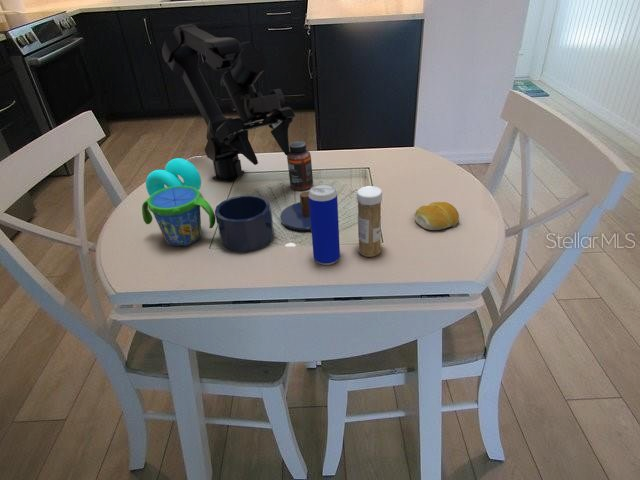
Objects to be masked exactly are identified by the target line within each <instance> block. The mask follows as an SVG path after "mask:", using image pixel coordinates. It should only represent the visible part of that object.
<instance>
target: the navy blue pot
mask: <svg viewBox="0 0 640 480" xmlns="http://www.w3.org/2000/svg"><path fill="white" fill-rule="evenodd" d="M272 213H273V212H272V207H271V202H270V201H269V199H268V198H266V197H263V196H261V195H257V194H241V195H237V196H232V197H229V198H227V199H225V200H223V201H221V202H220V203H219V204H218V205H216V207H215V209H214V214H215V218H216V219H215V222H216V226H217V228H218V229H217V231H218V234H219V240H220V242H221V245H222V247H223V248H224V249H226V250H227V251H230V252H232V253H242V254H243V253H252V252H256V251H259V250H261V249H264V248H266V247H267V246H268V245H269V244H271V243H272V241H274V237H275V229H274V222H273V214H272Z"/></svg>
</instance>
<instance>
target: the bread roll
mask: <svg viewBox="0 0 640 480" xmlns="http://www.w3.org/2000/svg"><path fill="white" fill-rule="evenodd" d="M459 218H460V213H459V212H458V209H457V208H456V207H455V206H454V205H453V204H451V203H450V202H447V201H435V202H431V203H429V204H427V205H426V204H425V205H421V206H419V207H418V208H417V209H416V211H415V212H414V220H415V222H416V224H418V225H419V226H420V227H422V228H423V229H425V230H429V231H440V230H444V229H447V228H450V227H454V226H456V225H457V224H458V223H459V220H460V219H459Z"/></svg>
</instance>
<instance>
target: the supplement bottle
mask: <svg viewBox="0 0 640 480" xmlns="http://www.w3.org/2000/svg"><path fill="white" fill-rule="evenodd" d="M289 152H290V153H289V154H288V155H286V160H287V168H288V177H289V185H290V188H291V189H293V190H295V191H304V190H310V189H311V188H312V187H313V186H314V177H313V164H312V154H311V152H310V150H308V149H307V144H306V142H305V141H302V140H298V141H292V142H291V143H289Z"/></svg>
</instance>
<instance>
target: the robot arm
mask: <svg viewBox="0 0 640 480" xmlns="http://www.w3.org/2000/svg"><path fill="white" fill-rule="evenodd" d="M200 54H201V55H202V56H204V57H205V61H206V64H207V65H208V66H209V67H211V68H212V69H213V70H215V71H220V70H224V69H226V71H225V72H222V73H221V79H220V86H221V87H224V86H225V89H226V91H227V93H228V95H229V97H230V100H231V102H232V104H231V106H230V108H231V110H232V111H236V113H237V115H238V117H235V118H232V117H228V118H227V117H225V116H224V115H223V113H222V110H221V109H220V107H219V104H218V103H217V101H216V100H215V97H214V95H213V94H212V91H211V89H210V87H209V86H208V84H207V82H206V80H205V78H204V76H203V74H202V71H201V70H200V68H199V64H200V63H199V62H200ZM161 55H162V58H163V60H164V62H165V63H166V64H167V65H168V67H169V68H170V70H171V72H173V73H174V74H176V75H178V76H179V77H180V78H182V79H183V82H184V83H185V85H186V87H187V89H188V91H189V93H190V96H191V97H192V100H193V101H194V103H195V105H196V107H197V110H198V111H199V113H200V114H201V116H202V118H203V120H204V122H205V124H206V134H205V135H206V137H205V138H206V140H207V141H206V145H205V147H204V153H205V155H206V158H208V159H210V160H211V161H212V164H213V169H214V173H215V174H214V176H212V180H214V181H221V182H229V183H234V182H235V181H236V180H237V179H239V178H240V177H241V176H242V175H244V174H245V170H243V169H242V162H241V159H240V158H239V155H240V154H241V155H242V156H243V157H244V158H246V159H247V160H248V161H249V162H250V163H252V164H253V165H254V166H258V164H259V161H258V158H257V155H256V154H255V150H254V149H253V147H252V144H251V142H250V139H249V131H250V130H254V129H258V128H262V127H266V126H268V127H269V128H270V129H271V130H270V133H271V135H272V136H273V138H274V140H275V141H276V143H277V144H278V146H279V149H281V151H282V152H283V154H284V155H285V156H287V155H288V154H289V153H290V143H289V128H290V124H291V123H293V119H294V118H296V114H295V112H294V110H293V108H291V107H289V106H285V107H281V105H282V104H285V102H286V101H285V95H284V93H283V92H282V90H281V88H277V89H276V88H275V89H270V91H269V94H268V95H263V93H262V92H261V91H260V90H258V91H256V88H255V86H254V84H255V83H256V81H257V80H258V79H259V78H260V76H261V75H262V74H263V72H264V71H265V69H266V68H267V65H268V61H267V57H266V55H265V54H264V53H263V52H262V51H261V50H260V49H259V48H257V47H254V46H252V44H251V42H250V41H244V42H241V43H240V41H239V40H238V39H236V38H233V37H216V36H214V35H213V34H211V33H209V32H206V31H205V30H202V29H201V28H198V26H197V25H196V24H193V23H190V24H189V23H188V24H182V25H177V27H175V28H174V30H173V33H171V34H170V36H168V37H167V38H166V39H165V40H164V42H163V45H162V49H161ZM272 110H274V111H273V112H272ZM270 113H271V114H270Z"/></svg>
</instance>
